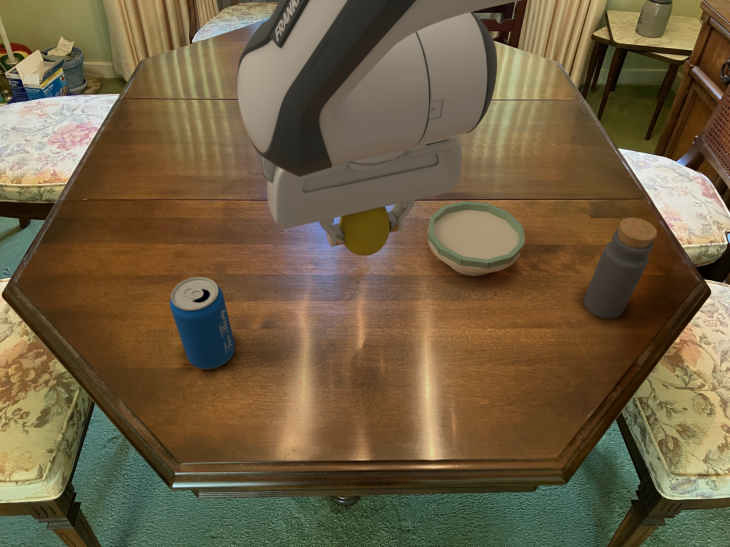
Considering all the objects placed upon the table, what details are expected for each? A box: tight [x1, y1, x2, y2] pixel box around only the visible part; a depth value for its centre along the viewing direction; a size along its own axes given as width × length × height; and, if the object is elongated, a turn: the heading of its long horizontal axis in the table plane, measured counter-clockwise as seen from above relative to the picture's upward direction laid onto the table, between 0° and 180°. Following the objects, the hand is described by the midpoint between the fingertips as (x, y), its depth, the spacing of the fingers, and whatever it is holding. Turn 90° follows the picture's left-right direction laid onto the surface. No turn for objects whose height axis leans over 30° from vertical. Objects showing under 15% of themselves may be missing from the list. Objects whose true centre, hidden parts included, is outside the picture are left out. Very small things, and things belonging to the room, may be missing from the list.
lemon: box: [338, 206, 390, 257], centre depth 60 cm, size 6×6×8 cm
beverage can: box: [169, 276, 236, 370], centre depth 72 cm, size 6×6×12 cm
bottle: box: [583, 217, 658, 320], centre depth 78 cm, size 6×6×15 cm
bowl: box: [426, 200, 526, 277], centre depth 88 cm, size 15×15×6 cm
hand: (365, 235), depth 61 cm, fingers closed on lemon, 5 cm apart
